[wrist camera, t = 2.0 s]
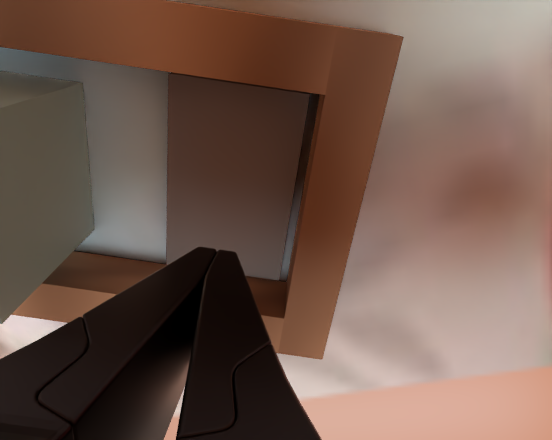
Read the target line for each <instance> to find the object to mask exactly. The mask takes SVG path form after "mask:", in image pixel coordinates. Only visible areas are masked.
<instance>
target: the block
mask: <svg viewBox="0 0 552 440" xmlns="http://www.w3.org/2000/svg"><path fill="white" fill-rule="evenodd" d="M93 231H94V218H93V206H92V193H91V181H90V169H89V156H88V144H87V132H86V119H85V107H84V95H83V83H80V82H73V81H67V80H60V79H53V78H46V77H40V76H33V75H26V74H19V73H13V72H6V71H0V324H2V323H3V322H4V321H5V320H6V319H7V318H8V317H9V316H10V315H11V314H12V313H13V312H14V311H15V310H16V309H17V308H18V307H19V306H20V305H21V304H22V303H23V302H24V301H25V300H26V299H27V298H28V297H29V296H30V295H31V294H32V293H33V292H34V291H35V290H36V289H37V288H38V287H39V286H40V285H41V284H42V283H43V282H44V281H45V279H46V278H47V277H48V276H49V275H50V274H51V273H52V272H53V271H54V270H55V269H56V268H57V267H58V266H59V265H60V264H61V263H62V262H63V261H64V260H65V259H66V258H67V257H68V256H69V255H70V254H71V253H72V252H73V251H74V250H75V249H76V248H77V247H78V246H79V245H80V244H81V243H82V242H83V241H84V240H85V239H86V238H87V237H88V236H89V235H90V234H91V233H92V232H93Z"/></svg>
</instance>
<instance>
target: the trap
mask: <svg viewBox="0 0 552 440" xmlns="http://www.w3.org/2000/svg"><path fill="white" fill-rule="evenodd" d="M309 97H310V93H308V92H301V91H295V90H288V89H281V88H275V87H268V86H261V85H254V84H248V83H241V82H234V81H227V80H221V79H214V78H207V77H200V76H194V75H187V74H180V73H173V72H171V73H168V155H167V243H166V264H170V263H171V262H173V261H175V260H176V259H178V258H180V257H182V256H183V255H185V254H187V253H188V252H190V251H192V250H193V249H195V248H197V247H207V248H214V249H216V250H217V251H218V250H227V251H234V252H236V253H237V255H238V258H239V260H240V263H241V265H242V268H243V270H244V273H245V275H246V276H251V277H258V278H265V279H272V280H278V281H279V278H280V272H281V266H282V260H283V254H284V248H285V242H286V236H287V230H288V224H289V218H290V212H291V205H292V199H293V193H294V187H295V181H296V175H297V169H298V163H299V157H300V151H301V145H302V139H303V133H304V127H305V121H306V115H307V109H308V103H309Z"/></svg>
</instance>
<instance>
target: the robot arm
mask: <svg viewBox="0 0 552 440" xmlns="http://www.w3.org/2000/svg"><path fill="white" fill-rule="evenodd" d="M184 386H185V390H184V395H183V401H182V407H181V413H180V419H179V424H178V430H177V436H176V440H322V439H321V437H320V436H319V434H318V432H317V431H316V429H315V427H314V425H313V424H312V422H311V420H310V419H309V417H308V415H307V413H306V412H305V410H304V408H303V407H302V405H301V403H300V401H299V400H298V398H297V396H296V394H295V392H294V390H293V388H292V387H291V385H290V383H289V381H288V379H287V377H286V375H285V372H284V370H283V368H282V366H281V363H280V361H279V359H278V356H277V354H276V351H275V349H274V346H273V345H272V342H271V339H270V337H269V334H268V331H267V329H266V326H265V324H264V321H263V319H262V316H261V314H260V311H259V309H258V306H257V303H256V301H255V298H254V296H253V293H252V291H251V288H250V286H249V283H248V281H247V278H246V275H245V273H244V270H243V268H242V265H241V263H240V260H239V258H238V255H237V253H236V252H234V251H227V250H218V251H217V250H216V249H214V248H207V247H197V248H195V249H193V250H192V251H190V252H188V253H187V254H185V255H183V256H182V257H180V258H178V259H176V260H175V261H173V262H171V263H170V264H168V265H166V266H165V267H163V268H161V269H159V270H158V271H156V272H154V273H153V274H151V275H149V276H147V277H146V278H144V279H142V280H141V281H139V282H137V283H136V284H134V285H132V286H130V287H129V288H127V289H125V290H124V291H122V292H120V293H119V294H117V295H115V296H113V297H112V298H110V299H108V300H107V301H105V302H103V303H102V304H100V305H98V306H96V307H95V308H93V309H91V310H90V311H88V312H86V313H85V314H83V315H82V317H77V318H76V319H74V320H72V321H71V322H69V323H67V324H65V325H64V326H62V327H60V328H58V329H57V330H55V331H53V332H51V333H50V334H48V335H46V336H44V337H42V338H41V339H39V340H37V341H35V342H33V343H31V344H29V345H27V346H25V347H23V348H21V349H19V350H17V351H15V352H13V353H11V354H9V355H7V356H5V357H4V358H2V359H0V440H164V437H165V435H166V432H167V429H168V427H169V424H170V422H171V419H172V417H173V414H174V412H175V409H176V407H177V404H178V401H179V399H180V396H181V394H182V391H183V389H184Z"/></svg>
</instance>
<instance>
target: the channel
mask: <svg viewBox="0 0 552 440" xmlns="http://www.w3.org/2000/svg"><path fill="white" fill-rule="evenodd" d="M402 41H403V37H402V36H398V35H393V34H388V33H381V32H375V31H368V30H361V29H355V28H348V27H341V26H335V25H328V24H321V23H314V22H308V21H301V20H294V19H288V18H281V17H274V16H268V15H261V14H254V13H247V12H241V11H234V10H227V9H221V8H214V7H207V6H201V5H194V4H187V3H180V2H174V1H167V0H0V47H5V48H12V49H18V50H25V51H32V52H39V53H45V54H52V55H59V56H66V57H72V58H79V59H86V60H93V61H99V62H106V63H113V64H119V65H126V66H133V67H140V68H146V69H153V70H160V71H167V72H173V73H180V74H187V75H194V76H200V77H207V78H214V79H221V80H227V81H234V82H241V83H248V84H254V85H261V86H268V87H275V88H281V89H288V90H295V91H301V92H308V93H315V94H320V96H319V102H318V108H317V113H316V119H315V125H314V130H313V136H312V142H311V147H310V153H309V159H308V164H307V170H306V176H305V181H304V187H303V193H302V198H301V204H300V210H299V215H298V221H297V227H296V232H295V238H294V244H293V249H292V255H291V261H290V266H289V272H288V278H287V282H282V281H276V280H269V279H262V278H255V277H248V276H246V278H247V281H248V283H249V286H250V288H251V291H252V293H253V296H254V298H255V301H256V303H257V306H258V309H259V311H260V314H261V316H262V319H263V321H264V324H265V326H266V329H267V331H268V334H269V337H270V339H271V342H272V345H273V346H274V349H275V351H276V353H281V354H288V355H294V356H301V357H308V358H315V359H322V358H323V354H324V350H325V346H326V342H327V338H328V334H329V330H330V326H331V322H332V318H333V314H334V311H335V307H336V303H337V299H338V295H339V291H340V287H341V283H342V279H343V275H344V271H345V267H346V263H347V259H348V255H349V251H350V247H351V243H352V239H353V235H354V231H355V227H356V223H357V219H358V215H359V211H360V207H361V203H362V199H363V195H364V191H365V188H366V184H367V180H368V176H369V172H370V168H371V164H372V160H373V156H374V152H375V148H376V144H377V140H378V136H379V132H380V128H381V124H382V120H383V116H384V112H385V108H386V104H387V100H388V96H389V92H390V88H391V84H392V80H393V76H394V72H395V68H396V64H397V61H398V57H399V53H400V49H401V45H402ZM165 266H166V264H159V263H152V262H145V261H138V260H132V259H125V258H118V257H111V256H104V255H97V254H90V253H84V252H77V251H73V252H72V253H71V254H70V255H69V256H68V257H67V258H66V259H65V260H64V261H63V262H62V263H61V264H60V265H59V266H58V267H57V268H56V269H55V270H54V271H53V272H52V273H51V274H50V275H49V276H48V277H47V278H46V279H45V281H44V282H43V283H42V284H41V285H40V286H39V287H38V288H37V289H36V290H35V291H34V292H33V293H32V294H31V295H30V296H29V297H28V298H27V299H26V300H25V301H24V302H23V303H22V304H21V305H20V306H19V307H18V308H17V309H16V310H15V311H14V312H13V313H12V314H11V315H18V316H25V317H32V318H39V319H46V320H53V321H60V322H67V323H69V322H71V321H72V320H74V319H76V318H77V317H82V315H83V314H85V313H86V312H88V311H90V310H91V309H93V308H95V307H96V306H98V305H100V304H102V303H103V302H105V301H107V300H108V299H110V298H112V297H113V296H115V295H117V294H119V293H120V292H122V291H124V290H125V289H127V288H129V287H130V286H132V285H134V284H136V283H137V282H139V281H141V280H142V279H144V278H146V277H147V276H149V275H151V274H153V273H154V272H156V271H158V270H159V269H161V268H163V267H165Z"/></svg>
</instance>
